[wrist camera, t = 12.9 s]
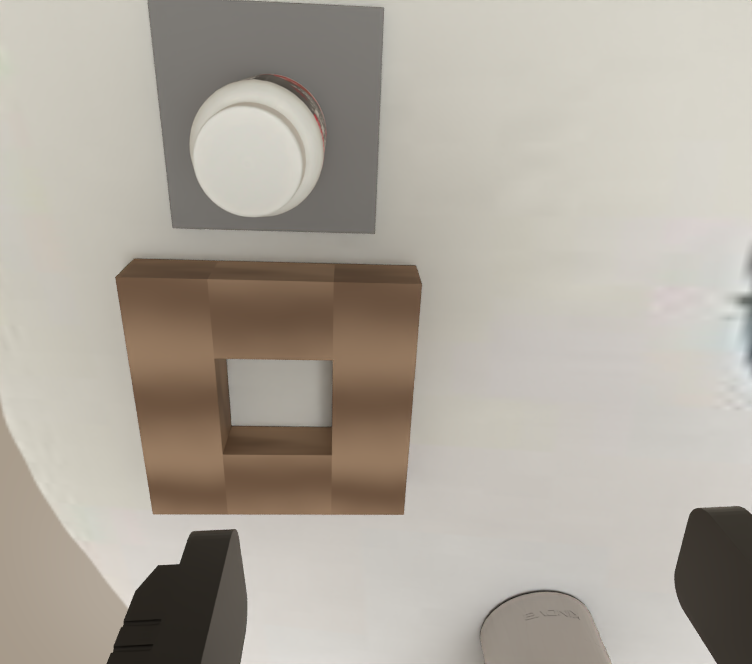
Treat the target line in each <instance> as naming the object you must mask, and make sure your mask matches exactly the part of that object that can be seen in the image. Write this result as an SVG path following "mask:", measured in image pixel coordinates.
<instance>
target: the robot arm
mask: <svg viewBox="0 0 752 664" xmlns="http://www.w3.org/2000/svg"><path fill="white" fill-rule="evenodd" d="M674 580H675V589H676V593H677V597H678V600H679V602H680V605H681V607H682V609H683V610H684V612H685V614H686V615H687V617H688V618H689V620H690V622H691V623H692V625H693V626H694V628H695V629H696V631H697V633H698V634H699V636H700V637H701V639H702V641H703V642H704V644H705V645H706V647H707V648H708V650H709V652H710V653H711V655H712V656H713V658H714V659H715V661H716V663H717V664H752V514H751V513H750V512H749V511H747V510H746V509H745V508H742V507H739V506H731V507H711V508H696V509H694V510H693V511H692V512H691V513H690V515H689V518H688V522H687V526H686V530H685V534H684V538H683V542H682V545H681V549H680V553H679V557H678V561H677V565H676V569H675V576H674ZM246 624H247V592H246V585H245V578H244V571H243V564H242V556H241V549H240V542H239V536H238V532H237V530H236V529H231V530H210V531H193V532H191V534H190V535H189V538H188V540H187V543H186V546H185V549H184V552H183V555H182V559H181V562H180V564H176V565H158V566H157V567H156V568H155V569H154V571H153V572H152V573H151V574H150V575H149V576H148V577H147V579H146V580H145V581H144V582H143V583H142V584H141V585H140V587H139V588H138V589H137V590H136V591H135V594H134V596H133V599H132V601H131V604H130V606H129V609H128V611H127V614H126V616H125V619H124V625H123V627H121V629H120V631H119V634H118V636H117V639H116V642H115V644H114V650H113V653H111V654H110V657H109V659H108V662H107V664H240V662H241V656H242V650H243V645H244V639H245V633H246ZM480 640H481V646H482V650H483V655H484V659H485V664H612V663H611V660H610V658H609V656H608V653H607V651H606V649H605V646H604V644H603V642H602V639H601V637H600V635H599V632H598V630H597V628H596V625H595V623H594V621H593V618H592V616H591V614H590V612H589V610H588V609H587V608H586V606H585V605H584V604H583V603H581V602H580V601H579V600H577V599H575V598H573V597H571V596H569V595H565V594H561V593H557V592H536V593H530V594H525V595H521V596H519V597H516V598H513V599H511V600H509V601H507V602H505V603H504V604H502V605H500V606H499V607H498V608H496V609H495V610H494V611H493V612H492V613H491V614H490V615H489V616H488V618H487V619H486V620H485V622H484V624H483V626H482V628H481V634H480Z"/></svg>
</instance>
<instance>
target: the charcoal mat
mask: <svg viewBox="0 0 752 664" xmlns="http://www.w3.org/2000/svg"><path fill="white" fill-rule="evenodd" d="M148 9H149V18H150V27H151V36H152V45H153V54H154V63H155V72H156V81H157V90H158V100H159V109H160V118H161V127H162V136H163V145H164V154H165V163H166V172H167V181H168V190H169V199H170V209H171V218H172V227H173V228H185V229H221V230H257V231H293V232H329V233H365V234H375V217H376V192H377V168H378V144H379V119H380V95H381V70H382V46H383V21H384V8H383V7H363V6H343V5H322V4H302V3H282V2H261V1H241V0H148ZM261 74H277V75H282V76H286V77H289V78H291V79H293V80H295V81H296V82H298V83H300V84H301V85H302V86H304V87H305V88H306V89H307V90H308V91H309V92H310V93H311V94H312V95H313V96H314V98H315V99H316V101H317V102H318V104H319V106H320V107H321V110H322V112H323V115H324V118H325V123H326V146H325V152H324V161H323V167H322V170H321V173H320V176H319V179H318V181H317V183H316V185H315V187H314V188H313V190H312V191H311V193H310V194H309V195H308V196H307V197H306V199H304V200H303V201H302V202H301V203H300V204H299V205H297V206H296V207H294V208H293V209H291V210H289V211H287V212H285V213H282V214H279V215H274V216H266V217H244V216H239V215H235V214H232V213H230V212H228V211H226V210H224V209H222V208H221V207H219V206H218V205H216V204H215V203H214V202H213V201H212V200H211V199H210V198H209V197H208V196H207V195H206V194H205V192H204V191H203V189H202V188H201V186H200V184H199V182H198V180H197V177H196V175H195V171H194V167H193V164H192V160H191V155H190V145H189V142H190V133H191V128H192V124H193V121H194V119H195V116H196V114H197V112H198V110H199V109H200V107H201V106H202V105H203V103H204V102H205V101H206V100H207V98H208V97H209V96H211V95H212V94H213V93H214V92H215V91H216V90H218V89H220V88H222V87H224V86H225V85H227V84H229V83H233V82H237V81H240V80H243V79H246V78H249V77H252V76H256V75H261Z"/></svg>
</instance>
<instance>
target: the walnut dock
mask: <svg viewBox="0 0 752 664" xmlns="http://www.w3.org/2000/svg"><path fill="white" fill-rule="evenodd" d="M115 278H116V284H117V291H118V297H119V303H120V310H121V316H122V322H123V329H124V335H125V341H126V347H127V354H128V360H129V366H130V373H131V379H132V385H133V392H134V398H135V404H136V410H137V417H138V423H139V429H140V436H141V442H142V448H143V455H144V461H145V467H146V474H147V480H148V486H149V492H150V499H151V505H152V511H153V514H322V515H404V504H405V491H406V479H407V466H408V453H409V441H410V428H411V416H412V403H413V390H414V378H415V365H416V352H417V340H418V327H419V314H420V302H421V289H422V283H421V280H420V277H419V273H418V270H417V267H416V266H410V265H370V264H329V263H289V262H249V261H209V260H168V259H133V260H132V261H131V262H130V263H129V264H128V265H127V266H126V267H125V268H124V269H123V270H122V271H121V272H120V273H119V274H118V275H117V276H116V277H115ZM226 359H277V360H333V394H332V427H262V426H231V414H230V401H229V388H228V375H227V362H226Z"/></svg>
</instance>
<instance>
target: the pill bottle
mask: <svg viewBox="0 0 752 664" xmlns="http://www.w3.org/2000/svg"><path fill="white" fill-rule="evenodd" d="M189 145H190V155H191V160H192V164H193V167H194V171H195V175H196V177H197V180H198V182H199V184H200V186H201V188H202V189H203V191H204V192H205V194H206V195H207V196H208V197H209V198H210V199H211V200H212V201H213V202H214V203H215V204H216V205H218V206H219V207H221V208H222V209H224V210H226V211H228V212H230V213H232V214H235V215H239V216H244V217H266V216H274V215H279V214H282V213H285V212H287V211H289V210H291V209H293V208H294V207H296V206H297V205H299V204H300V203H301V202H302V201H303V200H304V199H306V197H307V196H308V195H309V194H310V193H311V191H312V190H313V188H314V187H315V185H316V183H317V181H318V179H319V176H320V173H321V170H322V167H323V161H324V152H325V146H326V123H325V118H324V115H323V112H322V110H321V107H320V106H319V104H318V102H317V101H316V99H315V98H314V96H313V95H312V94H311V93H310V92H309V91H308V90H307V89H306V88H305V87H304V86H302V85H301V84H300V83H298V82H296V81H295V80H293V79H291V78H289V77H286V76H282V75H277V74H261V75H256V76H252V77H249V78H246V79H243V80H240V81H237V82H233V83H229V84H227V85H225V86H224V87H222V88H220V89H218V90H216V91H215V92H214V93H213V94H212V95H211V96H209V97H208V98H207V100H206V101H205V102H204V103H203V105H202V106H201V107H200V109H199V110H198V112H197V114H196V116H195V119H194V121H193V124H192V128H191V133H190V142H189Z"/></svg>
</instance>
